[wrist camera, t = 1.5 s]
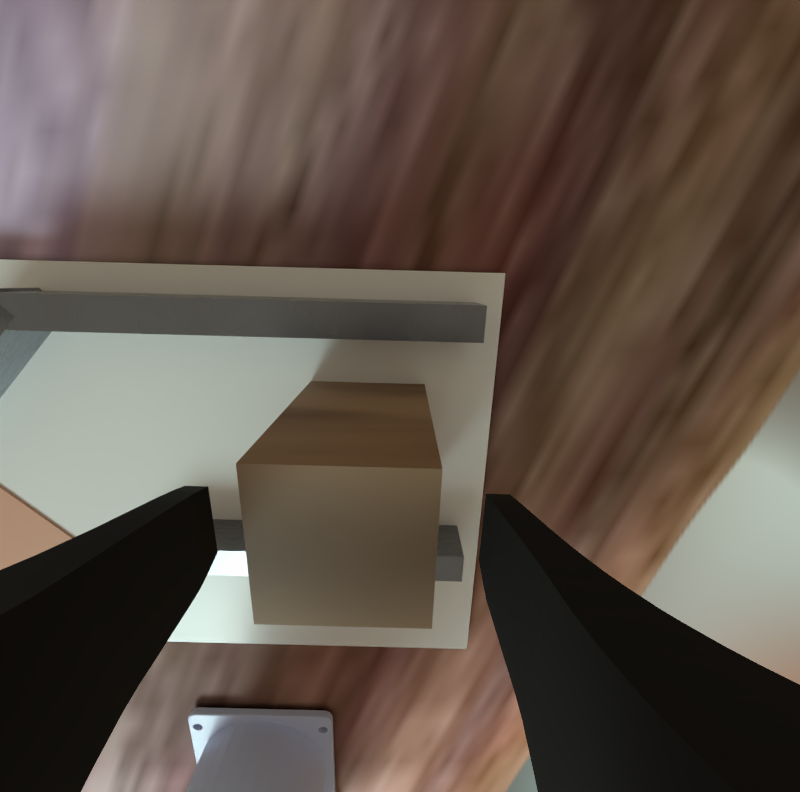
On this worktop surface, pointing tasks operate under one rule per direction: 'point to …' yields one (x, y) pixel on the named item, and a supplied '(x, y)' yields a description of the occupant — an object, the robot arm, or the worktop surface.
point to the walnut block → (344, 509)
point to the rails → (236, 316)
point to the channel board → (228, 421)
